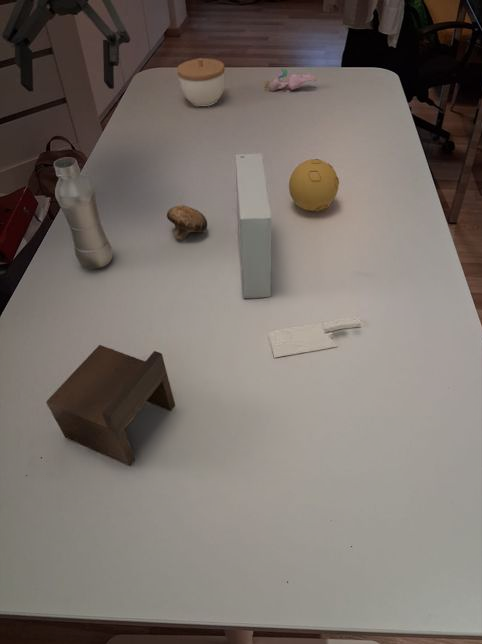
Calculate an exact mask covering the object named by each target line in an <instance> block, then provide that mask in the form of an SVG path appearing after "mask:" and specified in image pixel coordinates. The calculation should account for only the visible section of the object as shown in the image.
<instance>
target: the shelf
mask: <svg viewBox="0 0 482 644" xmlns="http://www.w3.org/2000/svg"><path fill="white" fill-rule="evenodd" d="M170 383H171V382H170V380H169V375H168V372H167V368H166V364H165V360H164V356H163V353H162V352H159V351H156V350H154V351H153V352H152V353H151V354H150V355H149V356H148V357H147V359H146V360H142V359H140V358H137V357H134V356H133V355H129V354H127V353H124V352H121V351H118V350H115V349H113V348H110V347H107V346H104V345H101V344H98V346H97V347H96V348H95V349H94V350H93V351H92V352H91V353H90V354H89V355H88V356H87V357H86V358H85V359H84V360H83V361H82V363H81V364H80V365H79V366H78V367H77V368H76V369H75V370H74V371H73V372H72V373H71V375H70V376H68V378H67V379H66V380H65V381H64V382H63V383H62V384H61V385H60V386H59V387H58V388H57V390H55V391H54V393H52V395H51V396H50V397H49V398H48V399H47V400H46V401H45V403H46V405H47V408H48V409H49V410H50V412H51V415H52V416H53V418H54V420H55V421H56V423H57V425H58V427H59V429H60V431H61V433H62V435H63V436H64V438H65V439H68V440H69V441H72V442H74V443H76V444H79V445H80V446H83V447H85V448H87V449H90V450H92V451H95V452H97V453H99V454H101V455H103V456H106V457H108V458H110V459H112V460H115V461H117V462H118V463H119V462H120V463H121V464H124V465H126V466H128V467H131V466H132V465H133V464H134V463H135V461H136V457H135V454H134V452H133V450H132V447H131V444H130V442H129V439H128V437H127V435H126V432H125V430H126V429H127V427H128V426H129V425H130V423H131V421H132V420H133V419H134V418H135V417H136V416H137V414H138V413H139V412H140V410H141V409H142V407H143V406H144V405H145V404H146V403H147V404H151V405H153V406H155V407H159V408H161V409H163V410H166V411H169V412H172V411H173V409H174V408H175V407H176V402H175V399H174V396H173V391H172V388H171V384H170Z"/></svg>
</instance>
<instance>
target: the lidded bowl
mask: <svg viewBox="0 0 482 644" xmlns="http://www.w3.org/2000/svg"><path fill="white" fill-rule="evenodd" d="M225 69H226V68H225V64H224V63H223V62H222V61H220V60H218V59H214V58H201V57H200V58H195V59H191V60H186V61H184V62H182V63H180V64H179V65H178V66H177V68H176V72H177V76H178V82H179V84H180V89H181V92H182V95H183V96H184V97H185V98H186V99H187V101H189V102H190V103H191V104H192V103H193V104H196V105H209V104H212V103H215V102H216V101H217V102H218V100H219V99H220V98H221V97H222V95H223V93H224V89H225V85H226V84H225V83H226V81H225V80H226V77H225V75H226V74H225ZM193 104H192V105H193Z"/></svg>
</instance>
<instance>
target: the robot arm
mask: <svg viewBox="0 0 482 644" xmlns="http://www.w3.org/2000/svg"><path fill="white" fill-rule="evenodd" d="M101 1H102V3H103V5H104V7H105V9H106V10H107V13H108V15H109V17H110V18H111V20H112V22H113V24H114V27H115V28H116V30H117V31H116V32H114V31H113V30H112V29H111V28H110V27H109V25H108V24H107V23H106V22H105V21H104V20H103V19H102V18H101V16H100V15H99V14H98V13H97V11H96V10H94V8H93V6H91V5H90V3H89V0H16V2H15V4H14V6H13V8H12V11H11V13H10V15H9V18H8V20H7V22H6V25H5V27H4V29H3V31H2V34H1V38H2V39H3V40H4V41H5V43H7V45H9V47H11V48H14V63H15V65H16V66H17V67H18V68H19V70H20V71H19V72H20V85H21V86H22V87H23V88H24V89H25V90H26V91H27V92H34V71H33V69H34V67H33V51H32V49H30V46H31V45H32V44H33V42H34V41H35V39H36V38H37V36H39V33H41V31H42V30H43V29H44V28H45V27H46V25H47V23H48V22H49V21H51V20H53V19H54V18H55V17H56V15H58V16H67V15H71V16H78V15H79V13H81V12H82V13H83V14H84V15H85V16H86V17H87V18H88V19H89V20H90V21H91V22H92V23H93V25H94V26H95V27H96V29H98V31H99V32H100V33H101V34H102V35H103V36H104V38H105V39H102V54H103V55H102V56H103V57H102V58H103V59H102V60H103V82H104V83H105V85H106V86H107V88H108V89H109V90H114V89H115V81H114V80H115V76H114V73H115V71H114V69H115V68H114V67H118V66H119V64H120V46H121V45H122V44H124V43H125V44H129V43H130V42H131V37H130V35H129V32H128V31H127V28H126V27H125V25H124V23H123V21H122V19H121V17H120V15H119V13H118V11H117V9H116V8H115V5H114V4H113V2H112V0H101ZM35 2H36V7H35V8H34V5H35ZM48 7H49V8H48ZM33 9H34V10H33Z"/></svg>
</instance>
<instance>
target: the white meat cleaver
mask: <svg viewBox="0 0 482 644" xmlns="http://www.w3.org/2000/svg"><path fill="white" fill-rule="evenodd" d="M361 327H362V321H361V319H360V317H359V316H353V317H347V318H340V319H335V320H329V321H322V322H316V323H311V324H309V323H308V324H305V325H297V326H291V327H290V326H289V327H287V328H282V329H277V330H271V331H267V333H266V334H267V338H268V341H269V345H270V349H271V351H272V354H273V358H274V359H275V358H280V357H286V356H291V355H298V354H303V353H310V352H315V351H322V350H326V349H333V348H337V347H338V345H337V344H336V343H335V342H334V340H333V339H332V338H333V331H337V330H341V329H349V328H350V329H352V328H361Z"/></svg>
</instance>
